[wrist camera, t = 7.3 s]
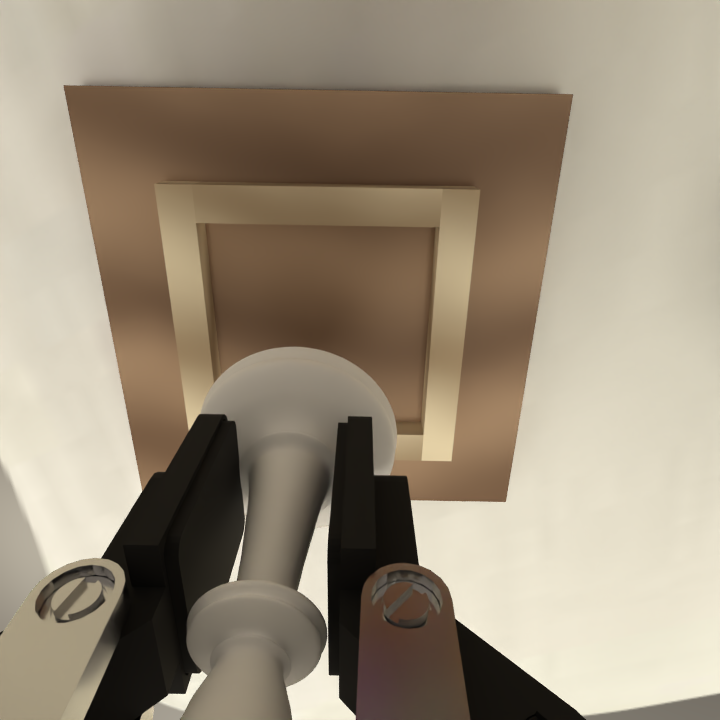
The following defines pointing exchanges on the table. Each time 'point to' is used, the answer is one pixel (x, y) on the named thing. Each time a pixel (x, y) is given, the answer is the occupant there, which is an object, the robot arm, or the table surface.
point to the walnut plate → (327, 253)
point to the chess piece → (277, 524)
